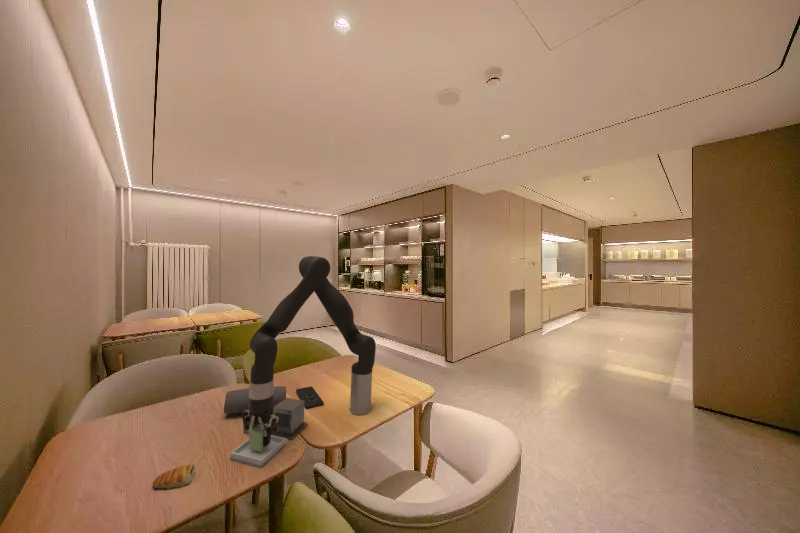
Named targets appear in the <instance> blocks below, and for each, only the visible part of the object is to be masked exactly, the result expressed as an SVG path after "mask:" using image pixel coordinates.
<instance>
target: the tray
mask: <svg viewBox="0 0 800 533" xmlns="http://www.w3.org/2000/svg"><path fill="white" fill-rule="evenodd" d="M249 439H250V437H249V438H248V439H246V440H245V441H244V442H243V443H241V444H240V445H239V446H237V447H236V448H234V449H233V450H232V451H231V452H230V453H229V454H230V455H229V460H230V461H233V462H236V463H241V464H245V465H248V466H252V467H256V468H259V469H262V468H264V466H265V465H267V463H269V462H270V461H271V459H273V458H274V457H275V456H276V455H277V454H278V453H279V452H280V451H282V449H284V448H285V446H287V439H286V438H282V437H278V436H273V435H271V439H270V444H269V445H267V446H266V447H265V448H264V449H263V450H261V451H257V450H253V449H249Z"/></svg>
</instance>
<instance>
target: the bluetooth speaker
mask: <svg viewBox="0 0 800 533" xmlns="http://www.w3.org/2000/svg"><path fill="white" fill-rule="evenodd" d="M224 397H225V398H224V405H223V413H224V414H242V413H243V412H244V411H246V410H248V409H249V388H242V389H234V390H230V391H227V392H226V393H225V396H224ZM286 398H287V386H286V385H285V386H284V385H282V386H281V385H277V386H275V385H274V399H273V407H274V406H276V405H277V404H279V403H280V402H281V401H283V400H284V399H286ZM273 407H272V410H273Z"/></svg>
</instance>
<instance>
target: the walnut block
mask: <svg viewBox="0 0 800 533" xmlns="http://www.w3.org/2000/svg"><path fill="white" fill-rule="evenodd" d="M242 424H243V423H242ZM247 424H248V422H247ZM242 434H244V435H249V436H250V433H249V431H248V430H245V429H244V424H243V428H242Z"/></svg>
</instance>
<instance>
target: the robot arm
mask: <svg viewBox="0 0 800 533" xmlns="http://www.w3.org/2000/svg"><path fill="white" fill-rule="evenodd" d="M298 271H299V274H300V275H301V276H302V279H301V280H300V282H299V284H298V285H296V287H295V288H294V289H293V290H292V291H291V292H290V293H288V294H287V295H286V296H285V297H284V298H283V299H282V300H281V301H280V302H279V303H278V305H277V306H276V307H275V309H274V310H273V312H272V313H271V315H270V316H269V318H268V319H267V320H266V321H265V322H264V323H263V324H262V325H261V326H260V327H259V328H258V330H256V332H255V333H254V334H253V335H252V337H251V339H250V340H249V348H250V350H251V351H252V352H253V354H254V363H252V365H251V369H250V378H249V379H250V382H249V388H248V389H249V409H248V410H246V411H244V412H243V413H241V417H242V418H241V419H242V422H243V423H242V424H244V429H245V430H248V431H249V433H250V430H251V429H253V428H254V427H256V426H257V425H260V426H261V430H263V434H264V436H263V447H266V446H267V445H269V443H270V439H271V435H272V434H273V433H275V432H276V430H277V427H278V423H279V420H280V416H279V415H278V416H275V415H273V409H272V407H273V399H274V386H275V382H274V375H275V374H274V372H275V369H274V368H275V367H274V366H275V363H276V360H277V355H278V342H277V340H276V338H277V336H278V335H279V334H280V333H284V332H285V331H286V330H287V329H288V328H289V327H290V325H291V323H292V322H293V320H294V318H296V315H297V314H298V313H299V311H300V310H301V308H302V307H303V306H304V305H305V303H306V302H307V301H308V300H309V298H310V297H311V296H312V295H313V293H315V295H316V296H317V298H318V301H320V303H321V304H322V306H323V308H324V310H325V311H326V313H327V314H328V316H329V318H330V319H331V320H332V322H333V324H335V326H336V328H337V329H338V331H339V332H340V333H341V335H342V337H343V339H344V342H345V343H346V346H347V348H348V349H349V350H350V352H351V353H352V354H354V355H356V356H358V360H357V362H354V363H353V364H352V365H351V370H350V372H351V374H350V396H349V397H350V398H349V399H350V400H349V412H350V413H351V414H352V415H357V416H362V415H363V416H364V415H367V414H369V413H370V412H371V410H372V409H371V408H372V390H373V389H372V387H373V386H372V385H373V367H374V365H375V362H376V361H375V360H376V348H377V346H376V341H375V339H374V338H373V337H372V336H370V335H366V334H363V333H361V332H360V330H359V329H358V327H357V326H356V324H355V322H354V316H355V315H354V310H353V309H352V307H351V305H350V303H349V301H348V300H347V298H346V297H345V296H344V295H343V294H342V293H341V291H340V290H338V288H336V287H335V286H334V285H333V284H332V283H331V282H330V281H329V279H328V276H329V274H330V273H331V263H330V262H329V260H328V259H327V258H326V257H322V256H316V255H310V256H309V255H308V256H304V257H302V258H301V260H300V261H299V264H298ZM247 422H248V424H247ZM267 430H268V431H267ZM248 439H249V438H248ZM249 440H250V439H249Z"/></svg>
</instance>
